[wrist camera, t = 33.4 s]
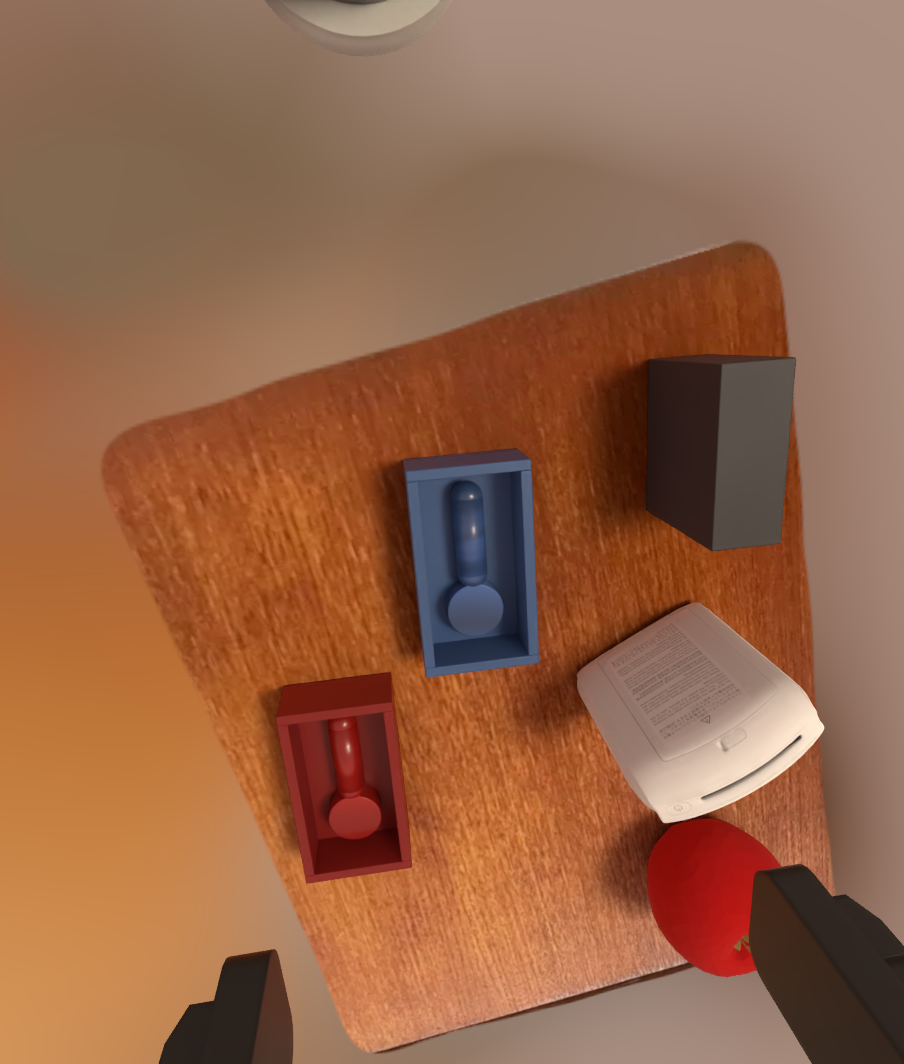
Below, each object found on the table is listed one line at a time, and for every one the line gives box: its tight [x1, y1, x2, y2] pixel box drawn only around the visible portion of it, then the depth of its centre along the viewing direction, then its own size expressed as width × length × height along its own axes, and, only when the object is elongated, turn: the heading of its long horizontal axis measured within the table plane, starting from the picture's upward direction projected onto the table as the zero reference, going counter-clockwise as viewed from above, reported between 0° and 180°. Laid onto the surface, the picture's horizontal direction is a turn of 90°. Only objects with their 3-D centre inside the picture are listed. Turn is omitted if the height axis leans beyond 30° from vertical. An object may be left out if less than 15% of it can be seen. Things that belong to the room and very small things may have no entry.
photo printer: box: [577, 602, 824, 823], centre depth 36 cm, size 10×4×12 cm, turn 122°
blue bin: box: [403, 449, 539, 677], centre depth 36 cm, size 12×7×4 cm, turn 4°
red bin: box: [276, 673, 412, 884], centre depth 40 cm, size 12×7×4 cm, turn 4°
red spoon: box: [327, 716, 382, 839], centre depth 40 cm, size 10×3×2 cm, turn 4°
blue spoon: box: [445, 480, 504, 636], centre depth 37 cm, size 10×3×2 cm, turn 4°
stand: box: [646, 354, 796, 551], centre depth 33 cm, size 9×4×8 cm, turn 4°
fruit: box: [647, 819, 781, 977], centre depth 42 cm, size 9×9×10 cm
